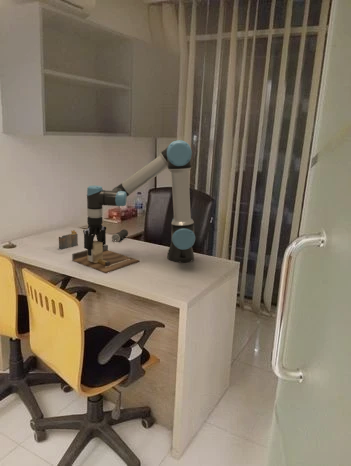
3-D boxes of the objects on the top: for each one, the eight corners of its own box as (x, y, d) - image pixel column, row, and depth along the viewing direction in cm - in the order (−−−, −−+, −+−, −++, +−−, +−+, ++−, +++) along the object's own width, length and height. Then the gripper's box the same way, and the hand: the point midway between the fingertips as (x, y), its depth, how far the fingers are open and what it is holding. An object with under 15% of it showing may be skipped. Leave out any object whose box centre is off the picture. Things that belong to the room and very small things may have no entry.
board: (139, 261, 196) (139, 255, 195) (106, 273, 177) (106, 266, 176) (106, 251, 211) (106, 244, 210) (72, 260, 192) (72, 253, 191)
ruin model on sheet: (74, 245, 220) (74, 229, 218) (77, 246, 219) (77, 230, 216) (58, 249, 211) (58, 233, 209) (61, 250, 210) (61, 234, 207)
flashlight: (121, 236, 245) (121, 228, 243) (128, 236, 243) (128, 229, 242) (111, 241, 230) (111, 233, 229) (119, 242, 229) (119, 234, 227)
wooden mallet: (112, 264, 187) (112, 245, 184) (104, 266, 183) (104, 247, 180) (95, 258, 194) (94, 240, 192) (87, 260, 190) (87, 242, 188)
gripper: (103, 212, 194) (103, 254, 200) (75, 217, 180) (76, 262, 186) (113, 215, 189) (112, 257, 195) (85, 220, 175) (86, 265, 181)
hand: (95, 259), depth 190 cm, fingers closed on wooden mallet, 5 cm apart
